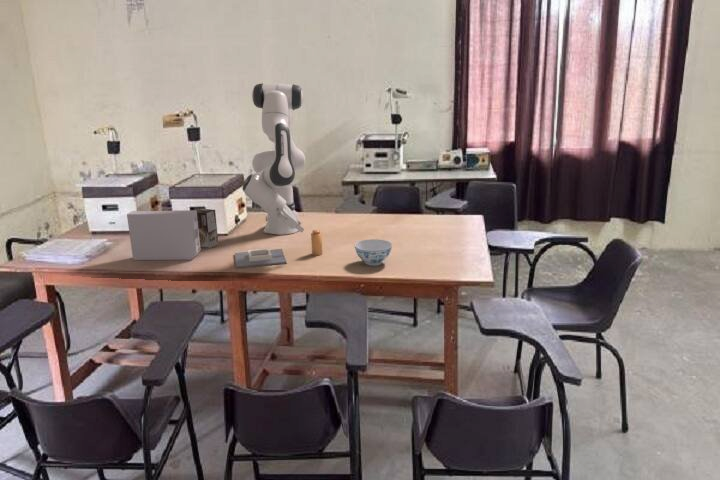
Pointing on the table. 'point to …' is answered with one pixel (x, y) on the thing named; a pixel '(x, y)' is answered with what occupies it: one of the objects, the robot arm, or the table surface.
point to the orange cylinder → (316, 242)
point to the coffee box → (207, 227)
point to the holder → (259, 258)
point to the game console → (164, 234)
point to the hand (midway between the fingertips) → (301, 227)
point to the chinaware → (373, 250)
